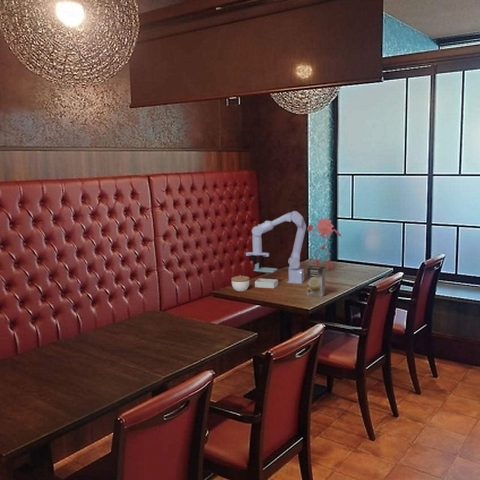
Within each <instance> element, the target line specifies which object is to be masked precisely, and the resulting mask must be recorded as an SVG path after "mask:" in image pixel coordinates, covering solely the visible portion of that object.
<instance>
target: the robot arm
mask: <svg viewBox="0 0 480 480" xmlns="http://www.w3.org/2000/svg"><path fill="white" fill-rule="evenodd" d="M284 222H289V223H291V222H293V223H294V224H295V225H296V227H297V230H296V234H295V238H294V242H293V246H292V247H293V248H292V252H291V254H290V257H289V258H288V261H287V263H288V265H289V267H288V281H286V283H288V284H298V285H299V284H302V283H304V282H305V269H304V268H301V262H300V260H301V252H302V248H303V243H304V238H305V234H306V230H307V225H306V221H305V219H304V217H303V215H302V214H301V213H299V211H296V210H293V211H291V212H287V213H285V214H283V215H281V216H279V217H277V218H275V219H273V220H265V221H264V222H262V223H260V224H259V223H258V224H257V225H255V226H254V227H252V229H251V233H252V236H251V237H252V239H251V241H252V252H251V251H249V252H248V251H246V252H245V256H246V257H247V256H248V257H249V256H250V260H252V263H253V267H254V268H255V264H256V263H259V268H261V267H263V266H262V264H263V263H264V262H263V261H264V259H265V257H267V258H268V257H270V252H263V245H262V244H263V241H262V240H263V238H262V234H265V233H267V232H269V231H272V230H273V229H274V227H276V226H277V225H279V224H280V225H281V224H282V223H284ZM257 260H258V262H257Z"/></svg>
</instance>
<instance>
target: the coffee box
mask: <svg viewBox="0 0 480 480" xmlns="http://www.w3.org/2000/svg"><path fill="white" fill-rule="evenodd" d="M306 284H307V285H306V288H307V290H306V296H311V297H321V298H322V297H324V295H326V266H322V265H321V266H315V265H309V266H308V267H307V268H306Z"/></svg>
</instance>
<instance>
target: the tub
mask: <svg viewBox="0 0 480 480" xmlns="http://www.w3.org/2000/svg"><path fill="white" fill-rule="evenodd" d="M260 281H264V282H260ZM278 286H279V279H275V278H274V279H273V278H259V277H258V279H256V280H255V281H254V288H261V289H262V288H265V289H275V288H277V287H278Z"/></svg>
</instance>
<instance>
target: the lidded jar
mask: <svg viewBox="0 0 480 480" xmlns="http://www.w3.org/2000/svg"><path fill="white" fill-rule="evenodd" d="M230 280H231V286H232V289H233V290H234V291H235V292H246V290H248V289H249V286H250V277H249V276H246V275H241V274H239V275H238V276H237V275H236V276H233V277H231V279H230Z"/></svg>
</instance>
